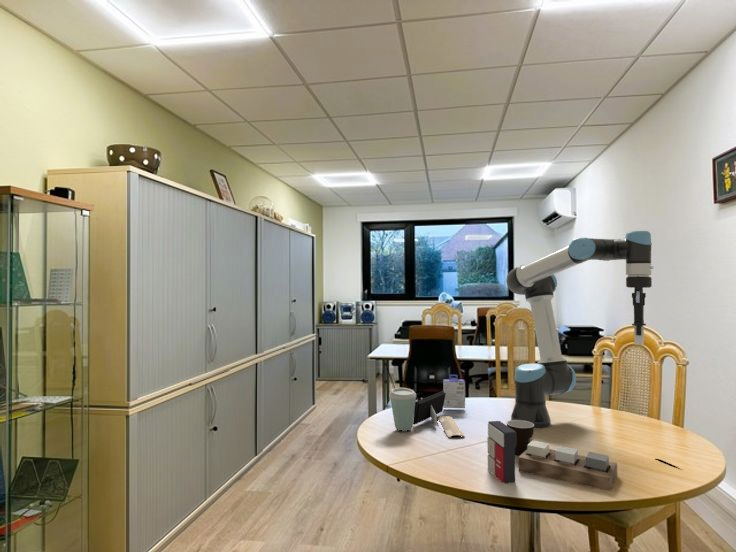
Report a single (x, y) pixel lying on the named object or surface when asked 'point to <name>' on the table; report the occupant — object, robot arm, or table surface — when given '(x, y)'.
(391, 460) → the table surface
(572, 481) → the brown wooden block holder
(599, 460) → the key charcoal
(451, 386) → the ink cartridge box
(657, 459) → the pen
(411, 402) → the disposable coffee cup
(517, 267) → the robot arm
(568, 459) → the key grey
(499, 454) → the grey and red box
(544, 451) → the key white
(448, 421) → the tan curved ridged slab
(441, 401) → the picture frame
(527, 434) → the coffee mug
